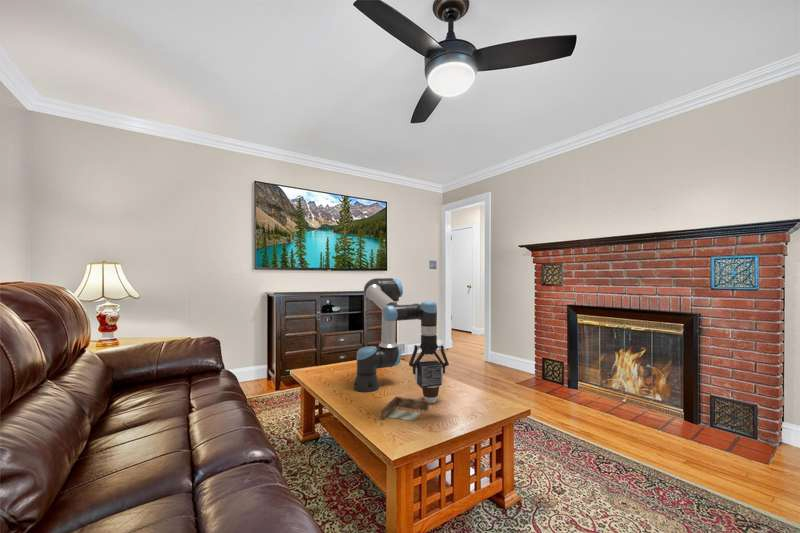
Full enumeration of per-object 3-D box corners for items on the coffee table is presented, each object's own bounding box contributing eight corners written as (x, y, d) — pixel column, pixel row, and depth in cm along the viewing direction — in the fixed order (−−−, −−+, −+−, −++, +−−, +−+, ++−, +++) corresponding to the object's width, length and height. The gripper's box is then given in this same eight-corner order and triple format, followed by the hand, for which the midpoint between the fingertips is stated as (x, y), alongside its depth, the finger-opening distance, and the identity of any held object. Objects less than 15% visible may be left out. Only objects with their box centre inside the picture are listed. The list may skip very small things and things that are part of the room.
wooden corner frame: (381, 419, 152) (381, 410, 152) (395, 404, 170) (395, 396, 170) (417, 425, 146) (417, 415, 146) (428, 409, 164) (428, 400, 164)
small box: (436, 381, 160) (436, 359, 161) (442, 385, 154) (442, 363, 154) (416, 383, 157) (416, 361, 157) (421, 388, 151) (421, 365, 151)
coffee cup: (416, 399, 177) (416, 376, 177) (434, 396, 181) (434, 374, 181) (426, 406, 167) (426, 382, 167) (445, 403, 171) (444, 379, 171)
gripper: (404, 336, 152) (404, 383, 151) (455, 335, 153) (455, 382, 153) (403, 333, 159) (403, 378, 159) (451, 332, 161) (451, 377, 160)
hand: (428, 380), depth 156 cm, fingers closed on small box, 11 cm apart
